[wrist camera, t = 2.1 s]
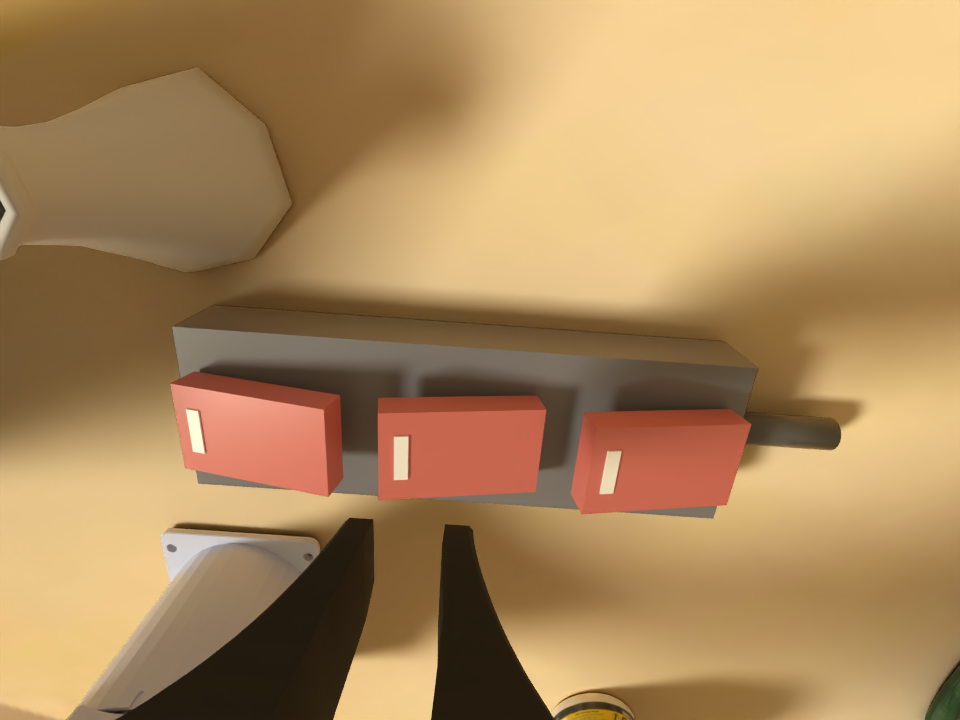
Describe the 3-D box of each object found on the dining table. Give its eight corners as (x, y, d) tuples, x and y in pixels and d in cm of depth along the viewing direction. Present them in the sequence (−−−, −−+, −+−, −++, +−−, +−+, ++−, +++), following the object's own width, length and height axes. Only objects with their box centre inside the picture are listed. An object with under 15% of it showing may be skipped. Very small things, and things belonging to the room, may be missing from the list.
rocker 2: (527, 473, 21) (536, 493, 19) (378, 480, 19) (378, 501, 18) (537, 395, 19) (546, 410, 18) (378, 397, 18) (377, 414, 17)
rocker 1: (343, 478, 19) (327, 498, 18) (207, 452, 20) (183, 469, 19) (340, 395, 18) (322, 410, 17) (194, 371, 19) (168, 384, 18)
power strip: (789, 484, 24) (834, 532, 21) (232, 446, 24) (193, 489, 21) (838, 349, 22) (897, 381, 18) (213, 305, 21) (165, 330, 18)
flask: (203, 28, 18) (-114, -118, 8) (326, 211, 20) (185, 256, 11) (62, 141, 19) (-341, 124, 10) (192, 300, 21) (-37, 408, 12)
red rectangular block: (708, 486, 21) (727, 506, 19) (570, 493, 19) (582, 515, 18) (730, 408, 19) (752, 425, 18) (584, 412, 18) (597, 429, 17)
